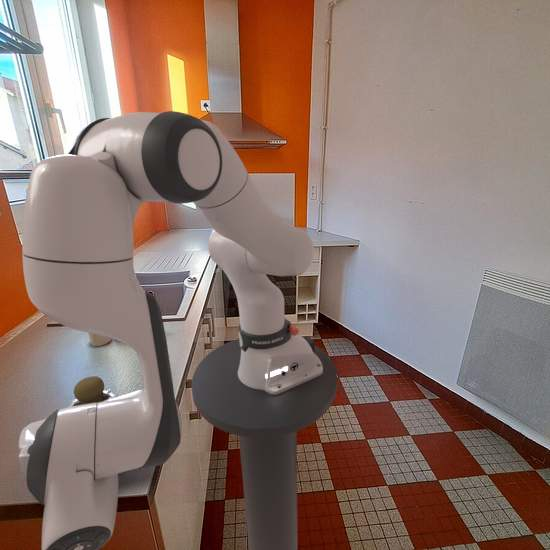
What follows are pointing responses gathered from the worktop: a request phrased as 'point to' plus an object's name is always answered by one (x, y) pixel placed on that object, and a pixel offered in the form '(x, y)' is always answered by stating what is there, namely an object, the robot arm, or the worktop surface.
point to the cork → (89, 390)
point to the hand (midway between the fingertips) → (92, 396)
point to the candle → (98, 339)
